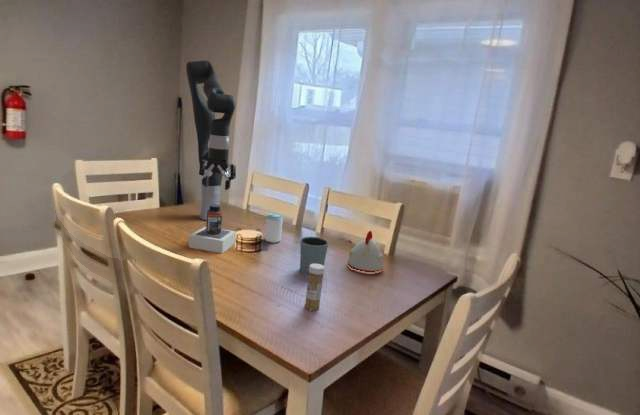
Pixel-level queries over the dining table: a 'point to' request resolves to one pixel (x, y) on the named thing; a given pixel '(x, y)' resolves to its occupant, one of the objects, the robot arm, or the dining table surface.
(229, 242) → the white and gray stand
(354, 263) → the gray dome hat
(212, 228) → the supplement bottle
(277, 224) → the can
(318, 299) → the sprinkles bottle
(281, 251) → the dining table surface
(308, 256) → the gray plant pot
